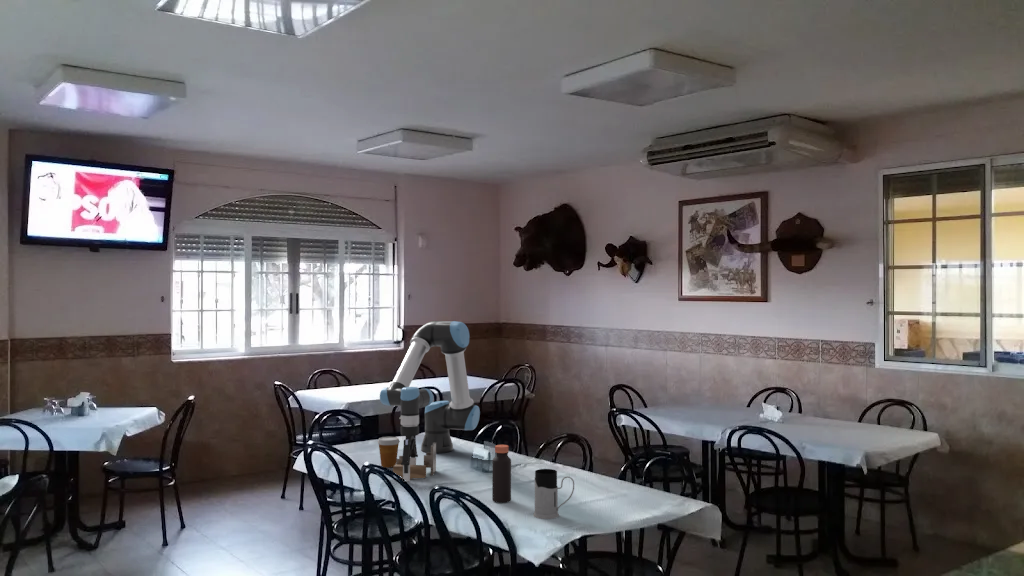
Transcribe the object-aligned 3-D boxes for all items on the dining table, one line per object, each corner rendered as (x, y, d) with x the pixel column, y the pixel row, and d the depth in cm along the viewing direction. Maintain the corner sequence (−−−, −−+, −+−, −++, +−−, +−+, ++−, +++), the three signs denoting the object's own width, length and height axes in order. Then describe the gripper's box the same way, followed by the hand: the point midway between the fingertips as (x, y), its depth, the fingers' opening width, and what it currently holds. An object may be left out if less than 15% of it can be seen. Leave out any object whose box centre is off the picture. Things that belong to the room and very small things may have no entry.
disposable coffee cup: (373, 467, 338) (373, 439, 338) (385, 462, 347) (385, 435, 347) (392, 469, 335) (392, 441, 335) (403, 464, 344) (403, 437, 344)
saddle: (399, 470, 332) (399, 455, 332) (406, 470, 332) (406, 455, 332) (396, 474, 325) (396, 459, 325) (403, 474, 325) (403, 459, 325)
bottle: (492, 498, 289) (493, 444, 289) (511, 498, 289) (511, 444, 289) (491, 503, 282) (491, 447, 282) (510, 503, 282) (510, 447, 282)
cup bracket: (426, 470, 332) (426, 442, 332) (435, 470, 332) (436, 442, 332) (423, 475, 324) (423, 446, 324) (433, 475, 324) (433, 446, 324)
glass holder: (536, 510, 273) (537, 467, 273) (576, 514, 268) (576, 470, 268) (530, 517, 264) (530, 473, 264) (571, 521, 260) (571, 476, 260)
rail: (395, 476, 323) (395, 464, 323) (426, 477, 322) (426, 465, 322) (393, 478, 319) (393, 466, 319) (424, 479, 318) (424, 467, 318)
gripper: (406, 420, 333) (406, 470, 333) (394, 430, 308) (394, 484, 308) (423, 420, 333) (423, 470, 333) (413, 430, 308) (413, 484, 308)
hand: (409, 477), depth 320 cm, fingers open, 13 cm apart
